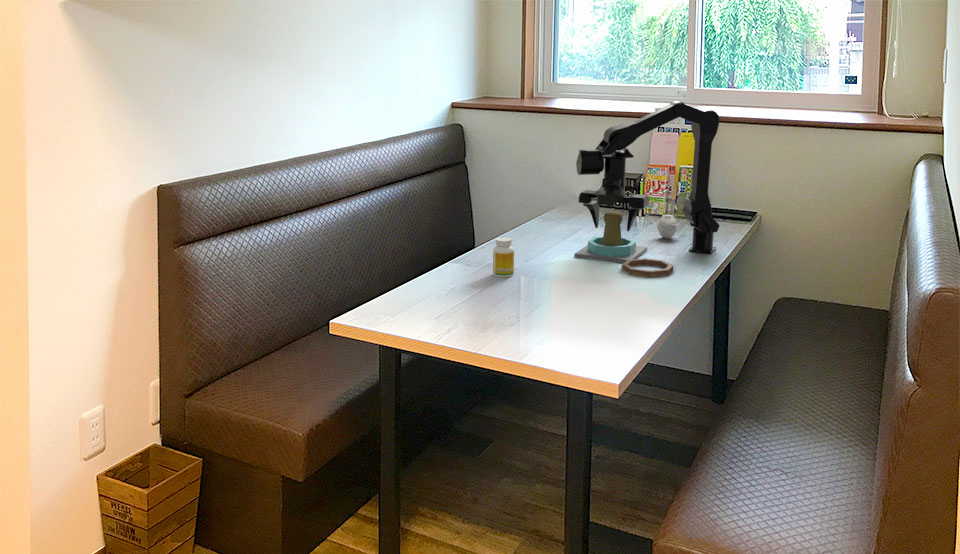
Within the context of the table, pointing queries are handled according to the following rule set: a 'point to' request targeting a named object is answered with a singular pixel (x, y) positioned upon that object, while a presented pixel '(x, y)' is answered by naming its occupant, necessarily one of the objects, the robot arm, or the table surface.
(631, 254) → the teal ring holder base
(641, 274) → the walnut ring
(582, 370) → the table surface
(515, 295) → the table surface
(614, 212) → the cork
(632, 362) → the table surface
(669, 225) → the frog figurine
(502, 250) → the supplement bottle
